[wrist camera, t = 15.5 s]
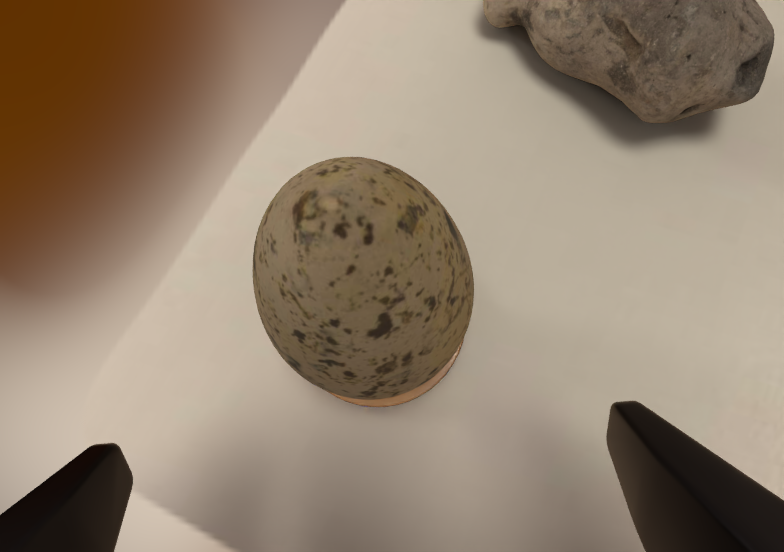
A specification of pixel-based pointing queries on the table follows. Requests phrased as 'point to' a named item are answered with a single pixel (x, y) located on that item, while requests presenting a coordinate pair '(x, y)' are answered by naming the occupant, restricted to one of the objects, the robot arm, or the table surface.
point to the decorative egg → (362, 278)
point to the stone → (651, 49)
